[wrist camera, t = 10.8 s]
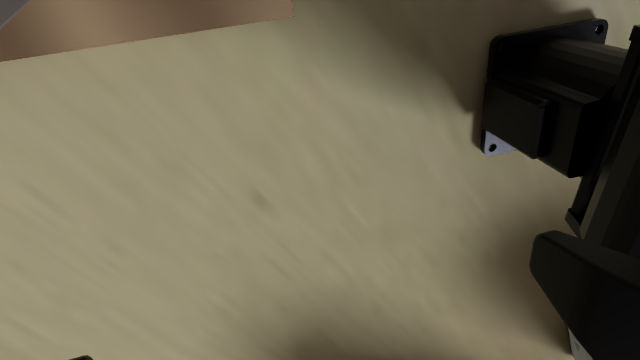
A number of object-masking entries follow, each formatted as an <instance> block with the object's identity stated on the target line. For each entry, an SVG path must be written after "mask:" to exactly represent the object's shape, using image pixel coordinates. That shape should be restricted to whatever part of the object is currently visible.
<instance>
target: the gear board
mask: <svg viewBox="0 0 640 360" xmlns="http://www.w3.org/2000/svg"><path fill="white" fill-rule="evenodd" d="M287 17H294V12H293V5H292V0H0V62H2V61H9V60H15V59H22V58H28V57H35V56H41V55H48V54H54V53H61V52H67V51H73V50H80V49H86V48H93V47H99V46H106V45H112V44H119V43H125V42H132V41H138V40H145V39H151V38H158V37H164V36H171V35H177V34H184V33H190V32H197V31H203V30H210V29H216V28H223V27H229V26H235V25H242V24H248V23H255V22H261V21H268V20H274V19H281V18H287Z"/></svg>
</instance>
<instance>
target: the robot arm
mask: <svg viewBox="0 0 640 360" xmlns="http://www.w3.org/2000/svg"><path fill="white" fill-rule="evenodd" d="M597 26H598V28H597ZM596 28H597V30H596ZM595 30H596V31H595ZM607 30H608V22H607V21H606V20H604V19H597V18H595V19H589V20H583V21H578V22H572V23H566V24H560V25H555V26H549V27H543V28H538V29H532V30H526V31H521V32H515V33H509V34H504V35H499V36H496V37H495V38H494V39H493V40H492V42H491V44H490V48H489V59H488V69H487V80H486V83H485V91H484V102H483V113H482V124H481V126H482V134H481V145H480V149H481V151H482V152H483V153H484V154H486V155H488V156H493V155H498V154H502V153H507V152H511V151H515V150H518V151H520V152H522V153H523V154H525V155H526V156H528V157H530V158H531V159H538V160H540V161H542V162H543V163H545V164H547V165H548V166H550V167H552V168H553V169H555V170H557V171H558V172H560V173H562V174H563V175H565V176H566V177H568V178H575V177H580V178H582V179H581V182H580V185H579V188H578V191H577V193H576V196H575V199H574V202H573V204H572V207H571V208H569V209H568V211H567V214H566V217H565V221H566V222H567V223H568V225H569V226H570V227H571V229H572V230H573V231H574V233H575V234H576V235H577V237H578V238H577V237H574V236H571V235H568V234H565V233H562V232H559V231H549V232H545V233H541V234H538V235H536V237H535V238H534V241H533V246H532V251H531V257H530V262H529V266H530V271H531V273H532V275H533V277H534V278H535V280H536V281H537V283H538V284H539V286H540V287H541V289H542V290H543V291H544V293H545V294H546V296H547V297H548V299H549V300H550V302H551V303H552V305H553V306H554V308H555V309H556V311H557V312H558V314H559V315H560V317H561V318H562V320H563V321H564V322H565V324H566V325H567V327H568V328H569V330H570V331H571V332H572V334H573V335H574V337H575V338H576V339H577V340H578V342H579V343H580V344H581V345H582V347H583V348H584V349H585V350H586V352H587V353H588V354H589V355H590V357H591V358H592V359H593V360H640V25H634V26H633V29H632V32H631V35H630V38H629V40H630V41H631V43H630V46H629V49H623V48H619V47H614V46H609V45H605V44H604V43H605V39H606V34H607ZM502 42H503V47H502V48H501V50H499V46H500V44H501V43H502ZM491 144H492V147H491V148H489V146H490V145H491ZM488 148H489V149H488ZM70 360H93V359H92V358H91V357H90V356H88V355H86V356H81V357H77V358H73V359H70Z"/></svg>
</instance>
